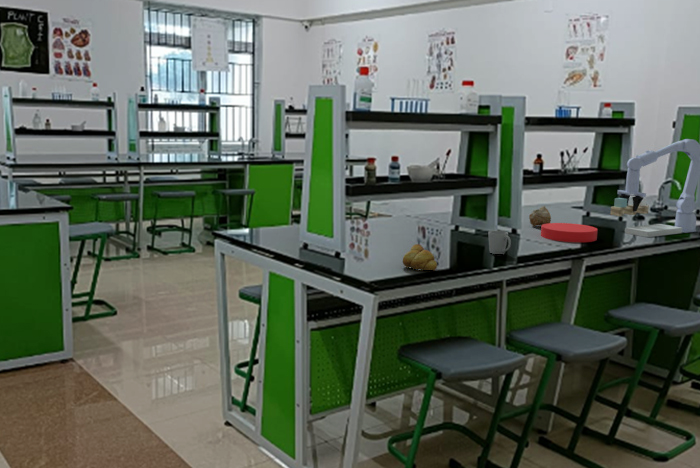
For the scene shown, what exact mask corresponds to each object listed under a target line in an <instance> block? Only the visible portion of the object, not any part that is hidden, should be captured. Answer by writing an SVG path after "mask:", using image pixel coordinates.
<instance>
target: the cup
mask: <svg viewBox="0 0 700 468" xmlns="http://www.w3.org/2000/svg"><path fill="white" fill-rule="evenodd" d="M507 242H508V243H507ZM511 243H512V240H511V237H510V236H509V232H508V231H505V230H504V231H503V230H489V231H488V246H489V247H488V250H489V254H490V253H494V254H503V255H505V253H506V252H508V251H509V250H510V249H511V246H512V244H511Z"/></svg>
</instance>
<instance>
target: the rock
mask: <svg viewBox="0 0 700 468" xmlns="http://www.w3.org/2000/svg"><path fill="white" fill-rule="evenodd" d="M528 217H529V223H530V225H532V226H533V227H536V226H542V225H543V224H548V223H552V221H551V220H552V216H551V214H550V212H549V210H548V209H547V207H546V206H541V207H540V208H539V209H538V208H537V209H534V210H533V211H532V212H531V213H530V214H529V216H528Z"/></svg>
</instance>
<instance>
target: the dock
mask: <svg viewBox="0 0 700 468" xmlns="http://www.w3.org/2000/svg"><path fill="white" fill-rule="evenodd" d="M624 229H625V230H624V233H625V234H628V235H634V236H639V237H643V238H644V237H645V238H651V237H659V236H661V237H662V236H668V235H678V234H683V232H682V229H683V228H681V227H675V225H669V224H664V223H663V224H662V223H656V224H646V225H639V226H630V227H625V228H624Z"/></svg>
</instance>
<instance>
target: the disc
mask: <svg viewBox="0 0 700 468" xmlns="http://www.w3.org/2000/svg"><path fill="white" fill-rule="evenodd" d="M540 226H541V225H540ZM540 229H541V230H540V236H541V238H544V239H548V240H550V239H551V241H558V242H564V243H565V242H566V243H592V242H595V241H597V239H598V228H597V227H595V226H591V225H587V224H581V223H580V224H578V223H572V222H571V223H568V222H567V223H566V222H550V223H548V224H543V225H542V226H541V228H540Z"/></svg>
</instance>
